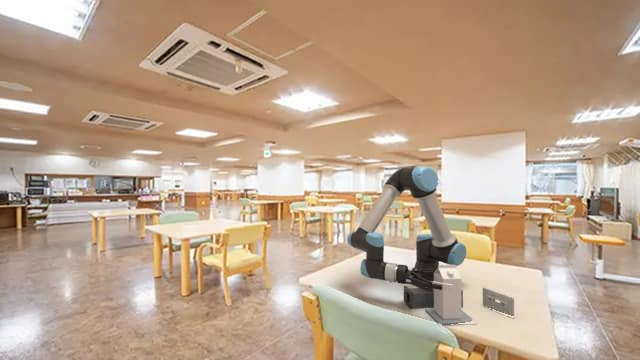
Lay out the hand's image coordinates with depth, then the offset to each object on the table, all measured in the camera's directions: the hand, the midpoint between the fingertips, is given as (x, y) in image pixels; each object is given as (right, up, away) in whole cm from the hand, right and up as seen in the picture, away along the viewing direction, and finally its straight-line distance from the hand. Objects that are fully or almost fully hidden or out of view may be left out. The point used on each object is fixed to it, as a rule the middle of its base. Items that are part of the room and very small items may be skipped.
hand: (453, 282), depth 102 cm
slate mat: (-1, -14, +1) cm, 14 cm away
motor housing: (-3, -14, +12) cm, 18 cm away
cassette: (+20, -14, +6) cm, 25 cm away
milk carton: (-2, -13, +1) cm, 13 cm away
